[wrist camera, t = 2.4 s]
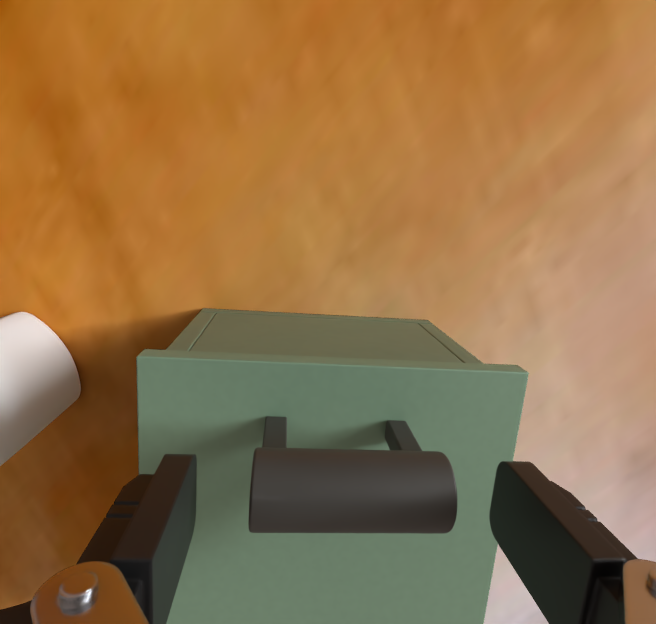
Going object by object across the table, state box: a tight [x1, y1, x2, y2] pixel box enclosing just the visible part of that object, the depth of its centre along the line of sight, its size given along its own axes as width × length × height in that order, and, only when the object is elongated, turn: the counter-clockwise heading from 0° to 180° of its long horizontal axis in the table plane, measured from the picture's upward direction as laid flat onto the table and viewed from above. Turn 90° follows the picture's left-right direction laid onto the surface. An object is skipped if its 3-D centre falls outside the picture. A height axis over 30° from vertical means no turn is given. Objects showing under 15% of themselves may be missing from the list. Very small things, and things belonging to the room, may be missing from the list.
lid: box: [136, 349, 528, 624], centre depth 14 cm, size 16×13×5 cm
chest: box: [166, 308, 484, 364], centre depth 22 cm, size 15×13×10 cm
